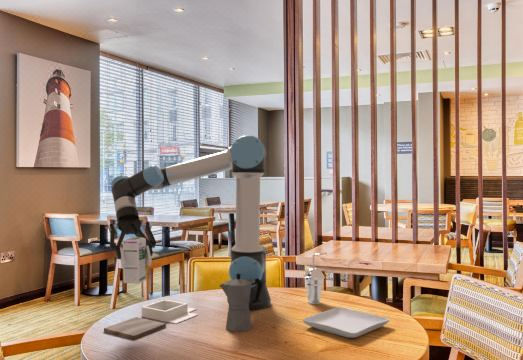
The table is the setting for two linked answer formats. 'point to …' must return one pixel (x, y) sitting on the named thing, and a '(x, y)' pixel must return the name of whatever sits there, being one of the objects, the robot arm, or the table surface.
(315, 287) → the cup with straw
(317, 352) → the table surface
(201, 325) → the table surface
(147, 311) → the open carton
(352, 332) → the salad plate
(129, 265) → the syrup box
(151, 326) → the walnut board
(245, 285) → the coffeepot
